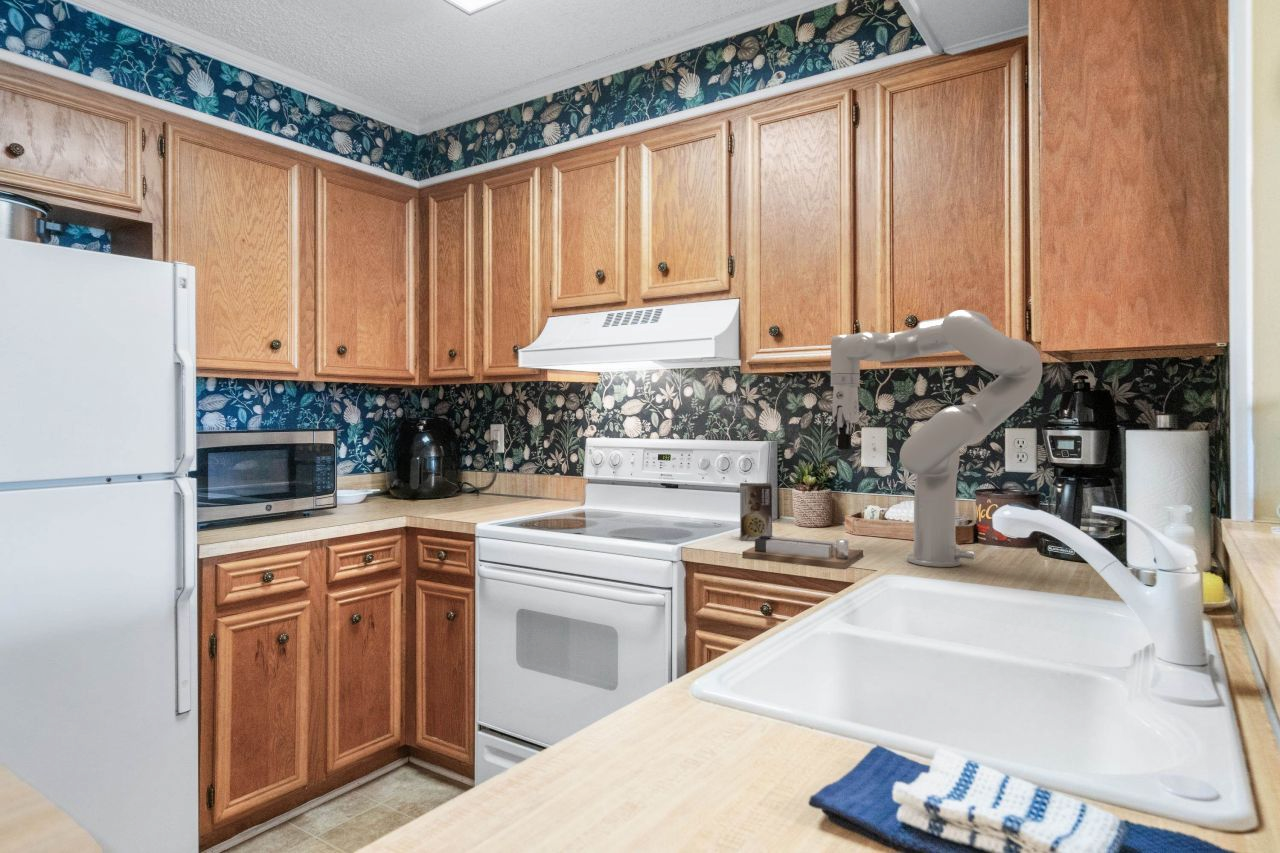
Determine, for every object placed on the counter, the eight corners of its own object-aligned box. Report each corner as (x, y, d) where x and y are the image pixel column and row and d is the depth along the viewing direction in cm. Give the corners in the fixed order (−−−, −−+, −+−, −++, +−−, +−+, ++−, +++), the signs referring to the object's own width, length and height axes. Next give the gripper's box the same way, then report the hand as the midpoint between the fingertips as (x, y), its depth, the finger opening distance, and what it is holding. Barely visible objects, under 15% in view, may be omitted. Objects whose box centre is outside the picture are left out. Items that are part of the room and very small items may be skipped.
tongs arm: (834, 554, 186) (834, 542, 186) (832, 555, 184) (832, 543, 184) (762, 546, 195) (762, 535, 195) (759, 548, 193) (759, 536, 193)
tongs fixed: (849, 557, 183) (849, 539, 183) (845, 561, 179) (845, 542, 179) (760, 548, 194) (761, 531, 194) (754, 551, 191) (754, 534, 191)
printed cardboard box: (770, 537, 220) (771, 482, 219) (772, 541, 213) (772, 485, 213) (739, 536, 221) (739, 482, 220) (740, 540, 214) (740, 484, 214)
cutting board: (863, 556, 193) (863, 550, 192) (844, 569, 177) (844, 562, 177) (767, 546, 206) (767, 540, 206) (742, 557, 190) (742, 551, 190)
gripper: (851, 379, 193) (851, 451, 193) (865, 381, 205) (865, 448, 206) (823, 380, 196) (822, 450, 197) (838, 382, 209) (838, 447, 210)
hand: (844, 448), depth 201 cm, fingers closed
